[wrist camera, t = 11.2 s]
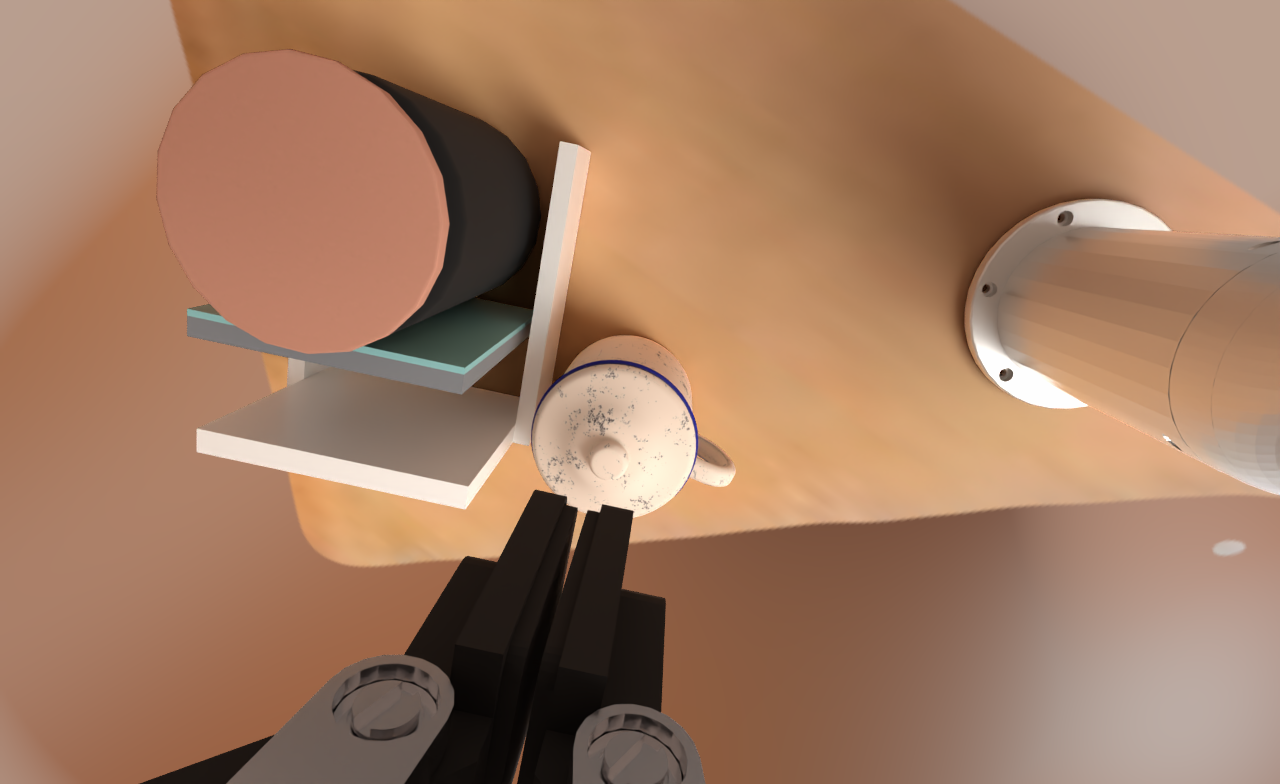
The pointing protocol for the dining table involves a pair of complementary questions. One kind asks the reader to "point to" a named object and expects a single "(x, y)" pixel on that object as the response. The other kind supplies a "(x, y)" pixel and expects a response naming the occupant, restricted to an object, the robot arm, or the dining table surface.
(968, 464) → the dining table surface
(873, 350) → the dining table surface
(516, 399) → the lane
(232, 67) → the coffee jar
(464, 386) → the plate
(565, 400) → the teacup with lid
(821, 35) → the dining table surface
